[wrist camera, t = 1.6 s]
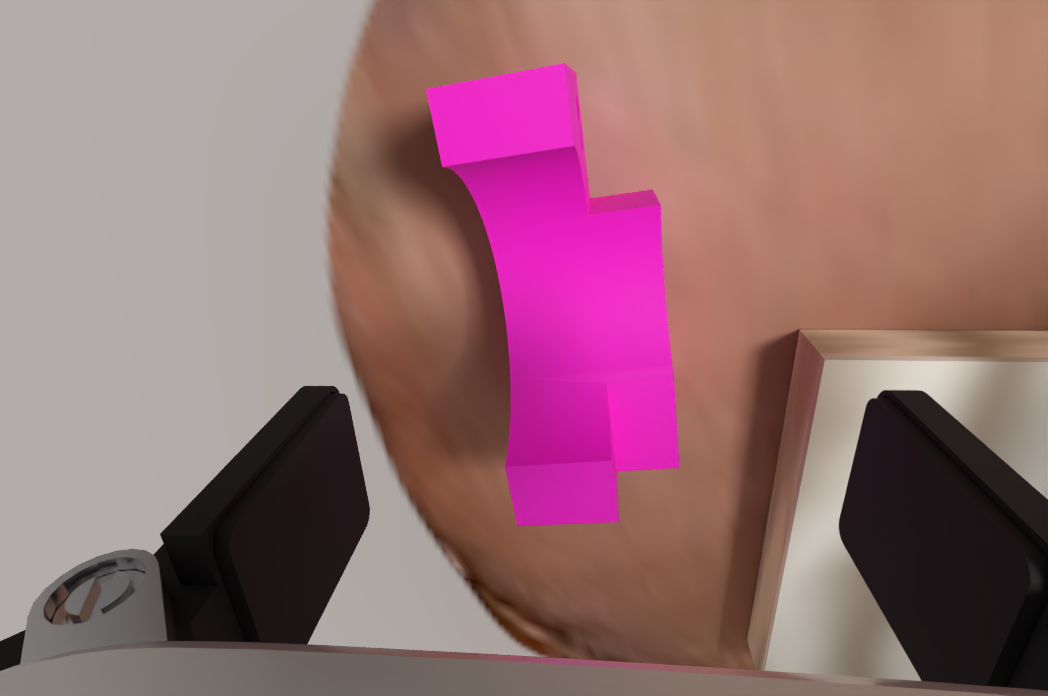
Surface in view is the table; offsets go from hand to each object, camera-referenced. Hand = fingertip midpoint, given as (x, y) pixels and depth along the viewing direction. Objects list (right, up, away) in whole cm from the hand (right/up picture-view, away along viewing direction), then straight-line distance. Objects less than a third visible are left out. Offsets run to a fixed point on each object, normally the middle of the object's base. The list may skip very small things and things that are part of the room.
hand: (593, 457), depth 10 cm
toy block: (+1, +6, +14) cm, 15 cm away
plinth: (+16, -6, +17) cm, 24 cm away
